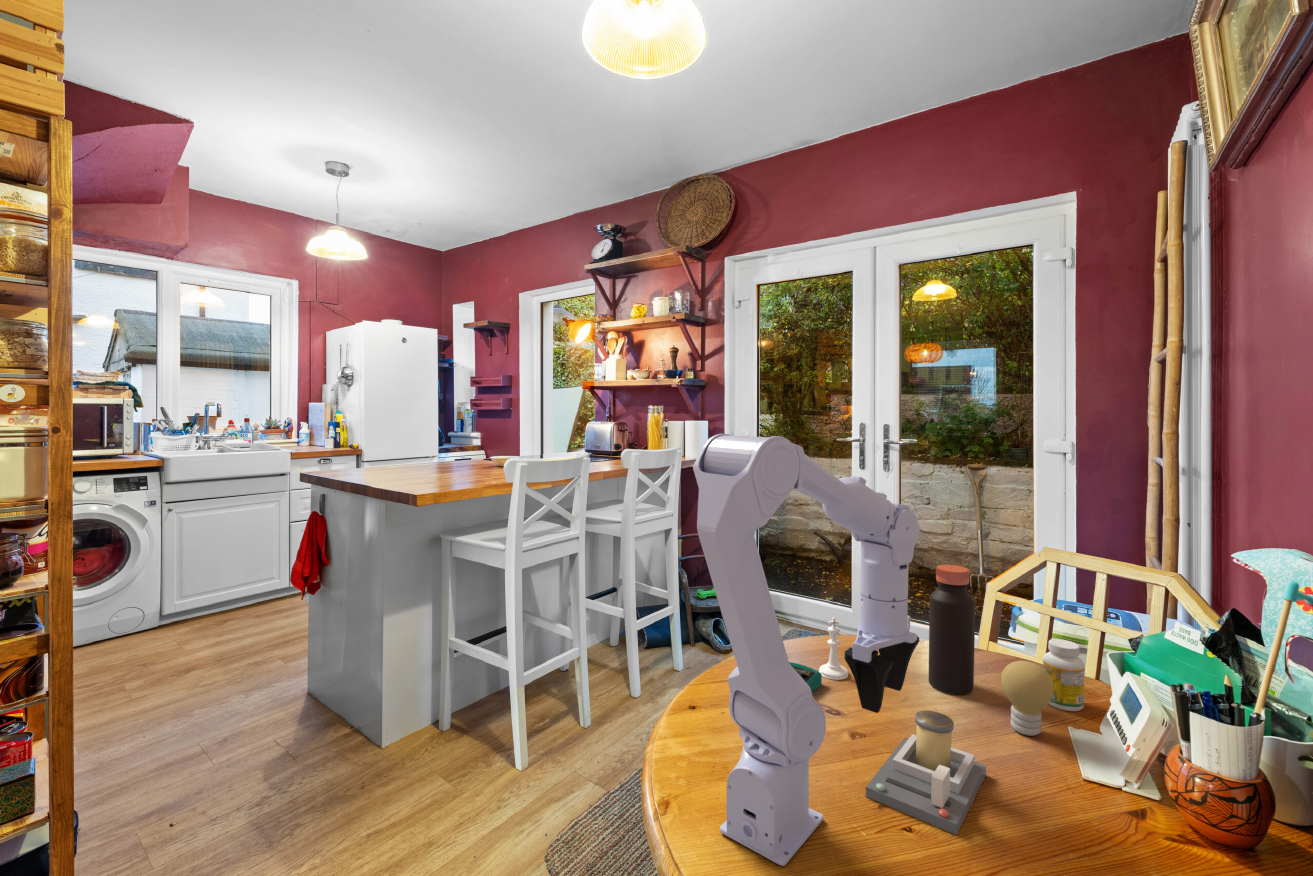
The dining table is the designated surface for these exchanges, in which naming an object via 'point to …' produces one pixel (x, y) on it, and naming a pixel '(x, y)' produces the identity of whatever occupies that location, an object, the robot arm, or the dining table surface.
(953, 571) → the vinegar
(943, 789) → the lever
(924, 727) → the beige cylinder
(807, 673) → the digital multimeter
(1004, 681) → the light bulb
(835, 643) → the chess piece
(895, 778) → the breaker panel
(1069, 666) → the supplement bottle
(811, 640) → the dining table surface
